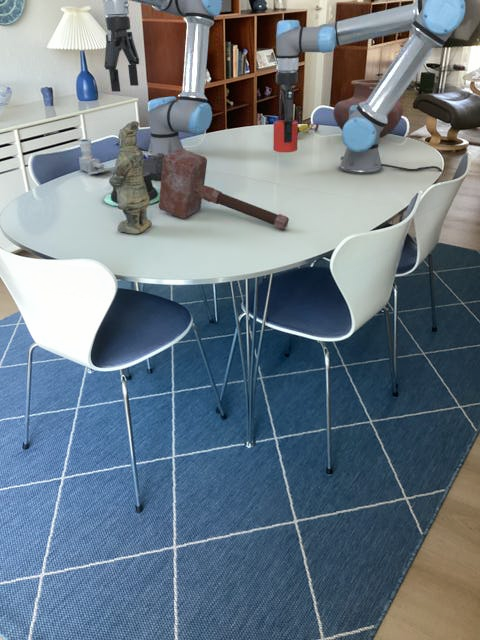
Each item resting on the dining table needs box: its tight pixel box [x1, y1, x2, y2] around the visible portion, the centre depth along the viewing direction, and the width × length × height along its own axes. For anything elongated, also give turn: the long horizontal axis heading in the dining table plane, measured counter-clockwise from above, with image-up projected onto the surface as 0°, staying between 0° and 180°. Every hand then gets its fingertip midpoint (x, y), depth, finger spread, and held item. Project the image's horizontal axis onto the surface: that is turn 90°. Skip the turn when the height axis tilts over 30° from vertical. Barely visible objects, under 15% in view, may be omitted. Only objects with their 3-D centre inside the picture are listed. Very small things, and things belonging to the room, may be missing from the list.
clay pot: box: [333, 78, 404, 139], centre depth 247 cm, size 30×30×25 cm
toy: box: [142, 151, 165, 181], centre depth 205 cm, size 9×9×15 cm
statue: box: [108, 120, 153, 235], centre depth 154 cm, size 11×9×30 cm
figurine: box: [298, 122, 319, 135], centre depth 263 cm, size 13×8×25 cm
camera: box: [78, 138, 115, 176], centre depth 211 cm, size 9×12×15 cm
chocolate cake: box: [103, 169, 160, 207], centre depth 186 cm, size 15×19×20 cm
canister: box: [272, 119, 299, 153], centre depth 201 cm, size 9×9×10 cm
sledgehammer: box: [158, 149, 290, 231], centre depth 163 cm, size 17×10×40 cm
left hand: (125, 88), depth 185 cm, fingers open, 13 cm apart
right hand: (285, 138), depth 202 cm, fingers closed on canister, 9 cm apart
